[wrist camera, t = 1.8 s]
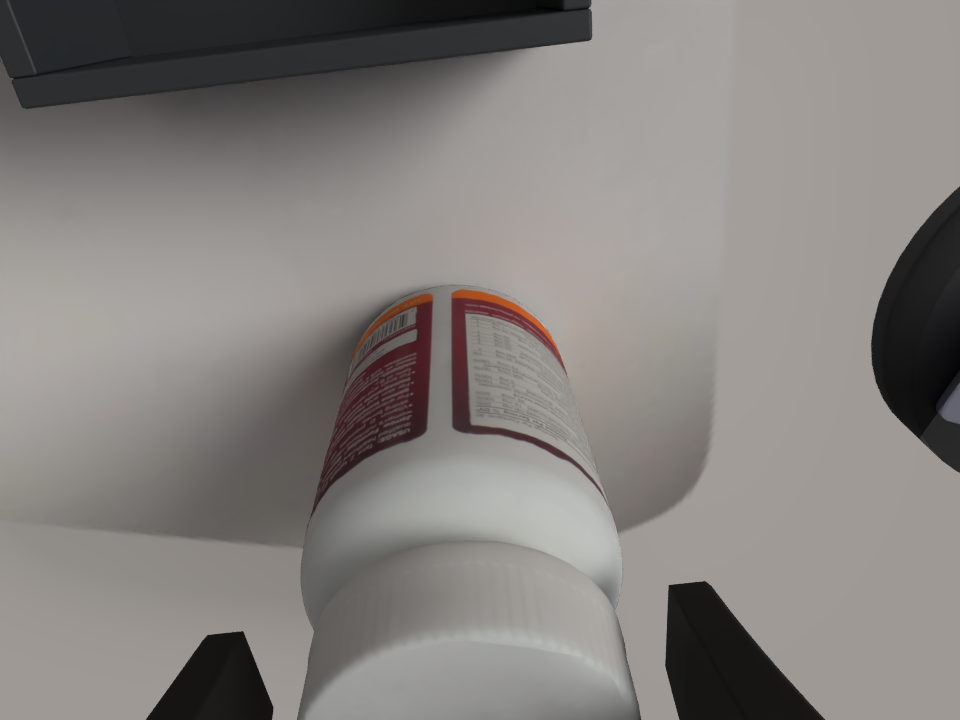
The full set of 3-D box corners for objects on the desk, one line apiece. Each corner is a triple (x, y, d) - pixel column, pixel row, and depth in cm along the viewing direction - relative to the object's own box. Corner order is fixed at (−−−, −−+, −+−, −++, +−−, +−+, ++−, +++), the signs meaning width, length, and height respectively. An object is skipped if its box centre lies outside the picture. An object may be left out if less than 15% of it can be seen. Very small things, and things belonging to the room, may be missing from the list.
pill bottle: (366, 466, 21) (294, 881, 11) (336, 284, 18) (204, 628, 8) (561, 453, 21) (661, 854, 11) (563, 269, 18) (698, 594, 8)
